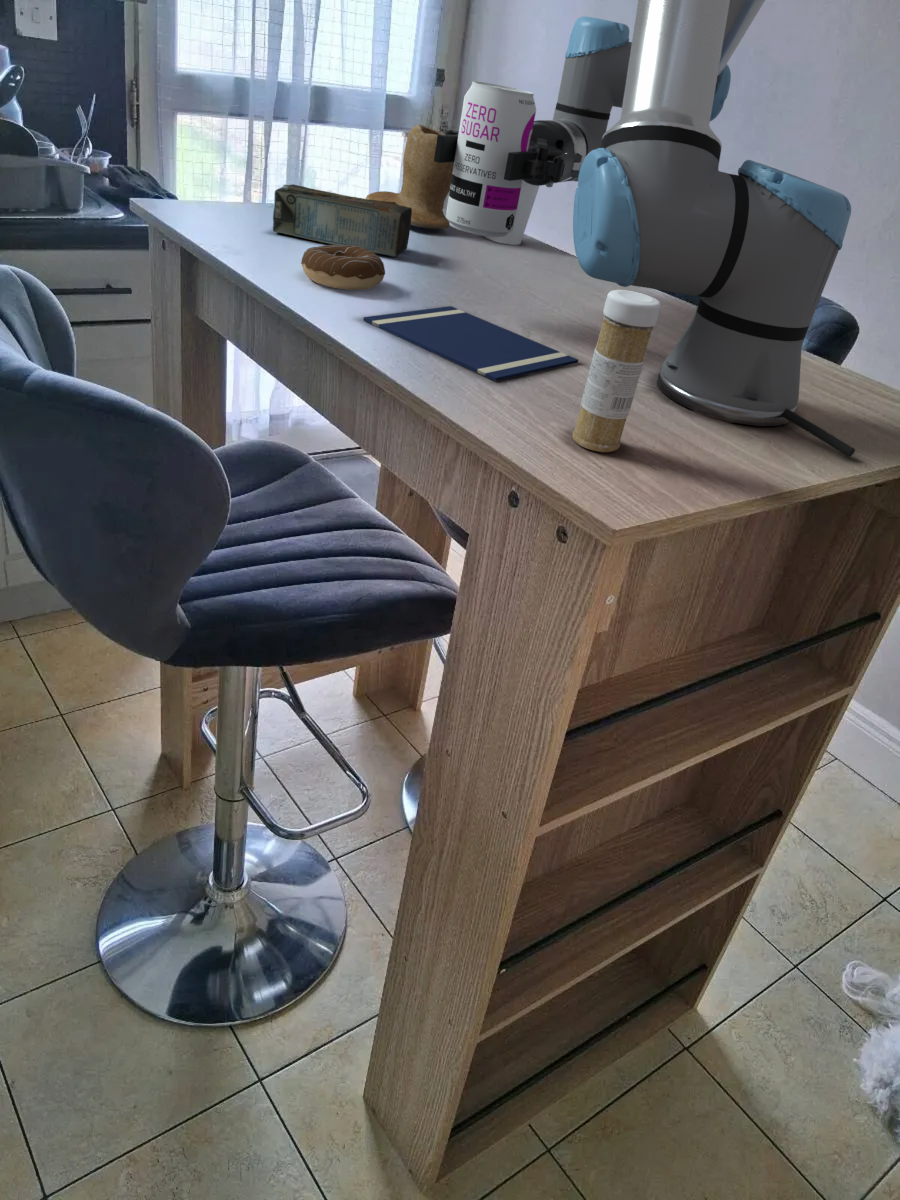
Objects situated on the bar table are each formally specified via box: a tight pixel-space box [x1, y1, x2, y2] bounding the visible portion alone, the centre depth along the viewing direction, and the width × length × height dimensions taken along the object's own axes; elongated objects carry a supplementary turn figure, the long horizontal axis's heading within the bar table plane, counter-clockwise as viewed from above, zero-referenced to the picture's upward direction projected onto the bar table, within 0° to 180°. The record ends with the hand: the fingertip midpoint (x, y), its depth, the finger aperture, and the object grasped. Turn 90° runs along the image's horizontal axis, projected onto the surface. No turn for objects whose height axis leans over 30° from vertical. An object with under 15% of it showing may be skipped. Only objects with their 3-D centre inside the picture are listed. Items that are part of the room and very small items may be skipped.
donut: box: [300, 244, 386, 291], centre depth 113 cm, size 11×11×4 cm
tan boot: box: [365, 124, 454, 230], centre depth 151 cm, size 15×12×15 cm
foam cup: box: [484, 181, 540, 246], centre depth 152 cm, size 10×9×13 cm
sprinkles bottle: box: [571, 289, 661, 453], centre depth 79 cm, size 5×5×13 cm
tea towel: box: [362, 305, 579, 382], centre depth 102 cm, size 20×15×1 cm
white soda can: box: [445, 80, 537, 237], centre depth 104 cm, size 8×8×15 cm
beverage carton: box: [272, 183, 412, 258], centre depth 132 cm, size 8×19×7 cm, turn 81°
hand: (473, 157), depth 100 cm, fingers closed on white soda can, 8 cm apart
